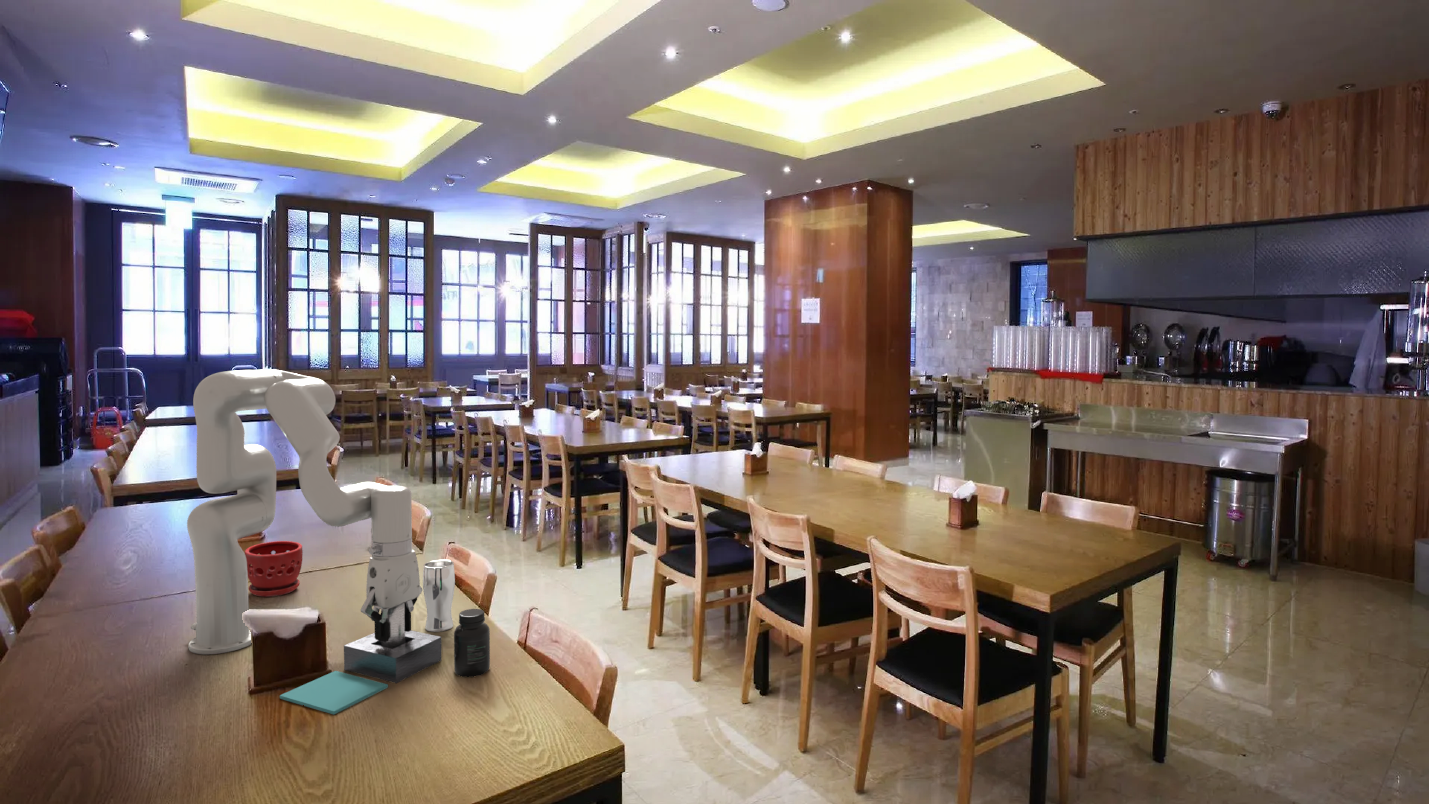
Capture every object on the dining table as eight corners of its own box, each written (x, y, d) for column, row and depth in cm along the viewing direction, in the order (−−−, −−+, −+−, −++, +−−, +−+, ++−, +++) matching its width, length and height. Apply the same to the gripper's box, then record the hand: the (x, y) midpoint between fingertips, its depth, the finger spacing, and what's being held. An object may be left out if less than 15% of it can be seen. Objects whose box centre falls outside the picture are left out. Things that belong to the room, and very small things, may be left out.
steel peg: (377, 667, 156) (376, 604, 155) (394, 659, 160) (393, 598, 159) (393, 671, 154) (392, 607, 153) (410, 663, 158) (409, 601, 157)
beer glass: (444, 634, 174) (444, 569, 173) (417, 631, 175) (416, 566, 174) (460, 623, 181) (460, 560, 179) (434, 620, 182) (433, 558, 181)
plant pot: (233, 595, 197) (232, 549, 196) (279, 581, 209) (278, 538, 208) (269, 603, 192) (268, 556, 191) (314, 588, 204) (313, 543, 203)
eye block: (344, 669, 154) (343, 645, 154) (391, 648, 165) (391, 625, 165) (396, 683, 148) (395, 658, 148) (441, 660, 159) (441, 637, 159)
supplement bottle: (452, 666, 157) (452, 609, 156) (487, 661, 159) (487, 605, 158) (455, 680, 150) (455, 620, 149) (491, 674, 153) (491, 616, 152)
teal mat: (279, 698, 141) (279, 695, 141) (335, 673, 152) (335, 670, 152) (333, 714, 136) (333, 711, 136) (387, 687, 147) (387, 684, 147)
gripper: (371, 560, 146) (372, 653, 147) (437, 540, 161) (438, 624, 163) (342, 555, 149) (344, 646, 150) (410, 536, 164) (411, 619, 166)
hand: (393, 634), depth 156 cm, fingers open, 5 cm apart
